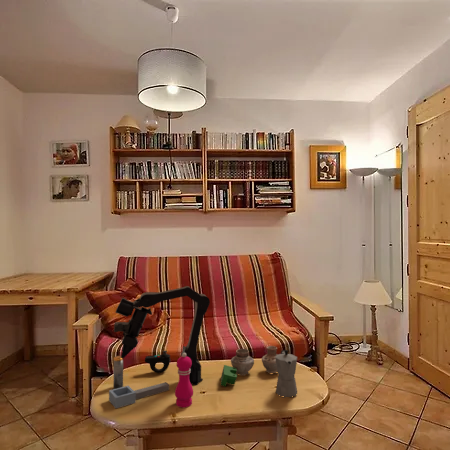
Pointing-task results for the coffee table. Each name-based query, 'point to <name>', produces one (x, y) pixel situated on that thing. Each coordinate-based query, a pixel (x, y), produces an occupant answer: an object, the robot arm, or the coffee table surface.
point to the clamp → (228, 375)
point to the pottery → (246, 362)
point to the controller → (158, 358)
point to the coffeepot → (286, 374)
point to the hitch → (134, 394)
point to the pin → (118, 372)
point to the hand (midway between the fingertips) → (122, 354)
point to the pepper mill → (184, 382)
